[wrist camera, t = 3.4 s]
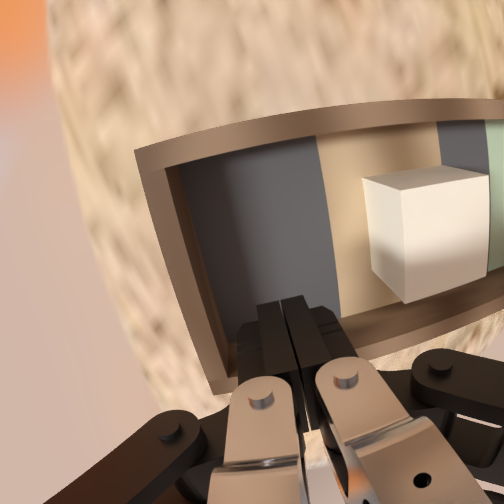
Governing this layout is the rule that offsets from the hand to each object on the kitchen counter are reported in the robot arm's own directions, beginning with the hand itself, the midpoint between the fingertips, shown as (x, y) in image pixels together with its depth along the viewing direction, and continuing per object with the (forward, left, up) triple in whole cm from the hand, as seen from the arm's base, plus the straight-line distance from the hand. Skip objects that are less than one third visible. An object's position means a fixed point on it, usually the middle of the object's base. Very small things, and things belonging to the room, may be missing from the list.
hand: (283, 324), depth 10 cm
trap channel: (+5, +7, -7) cm, 12 cm away
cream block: (+5, +7, -6) cm, 10 cm away
